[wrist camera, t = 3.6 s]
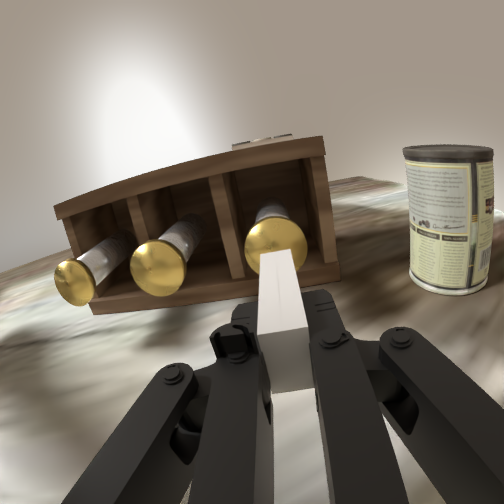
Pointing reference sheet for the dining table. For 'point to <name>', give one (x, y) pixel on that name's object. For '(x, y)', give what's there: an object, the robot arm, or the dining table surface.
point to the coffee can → (450, 216)
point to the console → (210, 220)
